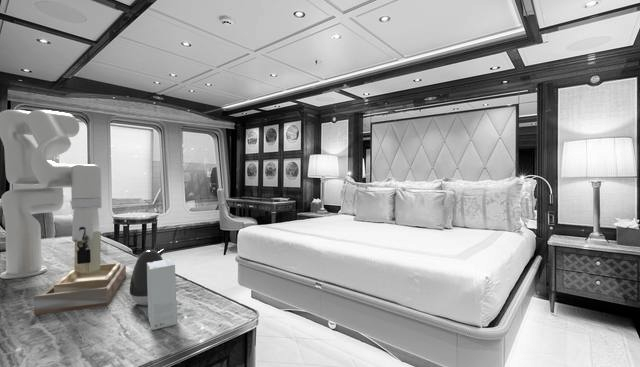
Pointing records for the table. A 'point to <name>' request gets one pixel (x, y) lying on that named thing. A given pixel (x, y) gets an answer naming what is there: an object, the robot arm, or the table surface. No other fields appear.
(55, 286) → the birch crate
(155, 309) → the skincare box
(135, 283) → the black penguin figurine
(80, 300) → the wooden serving tray
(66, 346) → the table surface
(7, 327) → the table surface
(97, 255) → the skincare box
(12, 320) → the table surface
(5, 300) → the table surface
